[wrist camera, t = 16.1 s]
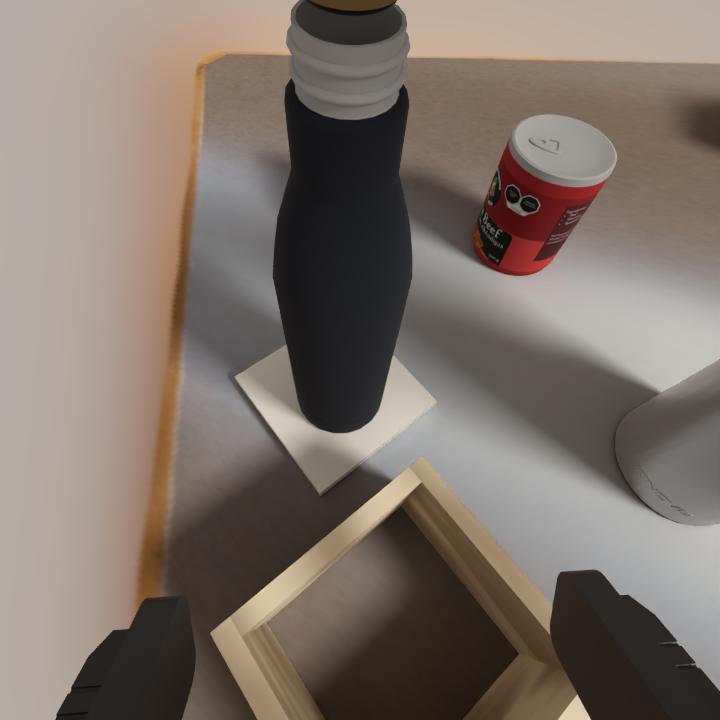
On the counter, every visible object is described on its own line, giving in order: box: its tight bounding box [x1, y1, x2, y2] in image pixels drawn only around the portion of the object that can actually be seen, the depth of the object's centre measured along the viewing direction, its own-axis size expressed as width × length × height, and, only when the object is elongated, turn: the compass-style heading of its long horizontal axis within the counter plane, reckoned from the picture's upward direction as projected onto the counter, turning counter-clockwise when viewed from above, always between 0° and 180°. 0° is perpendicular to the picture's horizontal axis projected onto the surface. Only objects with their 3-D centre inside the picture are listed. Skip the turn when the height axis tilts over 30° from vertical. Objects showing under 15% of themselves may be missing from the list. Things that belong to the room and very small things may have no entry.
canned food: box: [473, 114, 617, 276], centre depth 37 cm, size 8×8×11 cm
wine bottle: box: [273, 0, 412, 433], centre depth 19 cm, size 6×6×30 cm
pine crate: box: [210, 456, 591, 720], centre depth 22 cm, size 13×13×8 cm
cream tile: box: [235, 344, 437, 496], centre depth 33 cm, size 11×11×1 cm
